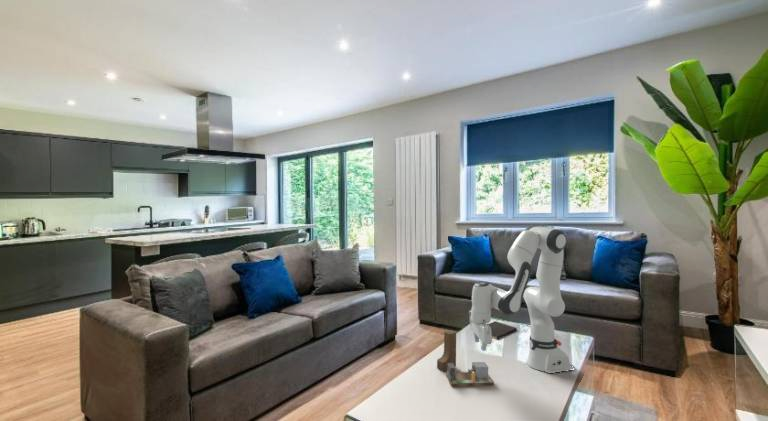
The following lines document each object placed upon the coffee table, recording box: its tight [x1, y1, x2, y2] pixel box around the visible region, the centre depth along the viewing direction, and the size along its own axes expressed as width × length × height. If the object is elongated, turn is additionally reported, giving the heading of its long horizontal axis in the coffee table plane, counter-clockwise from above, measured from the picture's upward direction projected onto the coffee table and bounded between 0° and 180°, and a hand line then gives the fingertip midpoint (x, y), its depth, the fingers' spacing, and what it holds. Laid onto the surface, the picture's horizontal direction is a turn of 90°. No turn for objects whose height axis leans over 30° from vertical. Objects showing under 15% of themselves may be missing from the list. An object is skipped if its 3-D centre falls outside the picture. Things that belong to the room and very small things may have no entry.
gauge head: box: [467, 361, 489, 382], centre depth 166 cm, size 8×8×6 cm
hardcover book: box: [488, 320, 518, 341], centre depth 228 cm, size 16×23×2 cm
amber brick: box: [472, 371, 475, 382], centre depth 163 cm, size 1×2×4 cm, turn 4°
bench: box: [445, 363, 495, 388], centre depth 167 cm, size 20×10×8 cm, turn 94°
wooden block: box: [436, 329, 457, 372], centre depth 179 cm, size 9×4×18 cm, turn 122°
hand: (480, 345), depth 166 cm, fingers open, 8 cm apart
